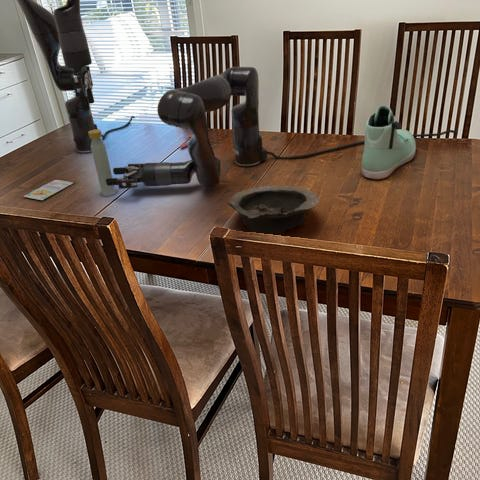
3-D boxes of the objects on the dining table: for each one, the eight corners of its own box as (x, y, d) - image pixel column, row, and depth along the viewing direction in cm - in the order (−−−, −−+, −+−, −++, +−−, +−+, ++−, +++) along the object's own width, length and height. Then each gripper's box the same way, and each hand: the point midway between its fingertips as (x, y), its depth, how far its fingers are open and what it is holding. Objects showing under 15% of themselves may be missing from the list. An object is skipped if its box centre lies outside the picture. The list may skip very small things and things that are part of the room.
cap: (94, 134, 152) (93, 128, 151) (104, 135, 150) (103, 129, 149) (86, 138, 149) (85, 133, 148) (97, 139, 147) (95, 133, 146)
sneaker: (420, 146, 175) (428, 89, 165) (399, 183, 150) (406, 120, 139) (383, 142, 181) (388, 87, 171) (356, 177, 156) (360, 116, 145)
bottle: (107, 189, 162) (93, 129, 151) (118, 191, 161) (104, 130, 150) (99, 195, 159) (84, 134, 148) (110, 196, 157) (96, 135, 146)
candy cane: (171, 147, 193) (170, 143, 192) (194, 135, 203) (194, 131, 202) (182, 149, 190) (182, 145, 189) (206, 137, 200) (205, 133, 199)
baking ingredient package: (22, 195, 161) (55, 178, 172) (23, 197, 161) (55, 180, 172) (41, 199, 157) (74, 182, 169) (42, 200, 157) (74, 183, 169)
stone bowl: (258, 254, 121) (254, 221, 116) (217, 221, 141) (212, 192, 137) (338, 225, 129) (337, 193, 125) (288, 198, 150) (286, 170, 145)
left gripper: (67, 44, 142) (81, 101, 151) (55, 53, 130) (70, 114, 138) (92, 42, 142) (105, 99, 151) (83, 51, 130) (96, 112, 138)
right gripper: (161, 155, 159) (113, 157, 160) (152, 172, 147) (101, 174, 148) (164, 175, 163) (118, 178, 164) (156, 194, 151) (106, 196, 152)
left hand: (88, 106), depth 144 cm, fingers open, 6 cm apart
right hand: (110, 176), depth 156 cm, fingers open, 8 cm apart
